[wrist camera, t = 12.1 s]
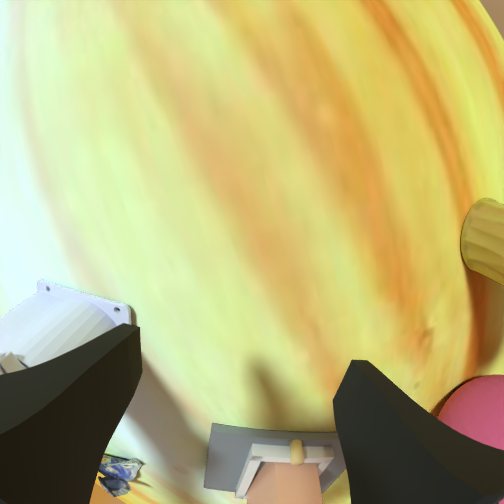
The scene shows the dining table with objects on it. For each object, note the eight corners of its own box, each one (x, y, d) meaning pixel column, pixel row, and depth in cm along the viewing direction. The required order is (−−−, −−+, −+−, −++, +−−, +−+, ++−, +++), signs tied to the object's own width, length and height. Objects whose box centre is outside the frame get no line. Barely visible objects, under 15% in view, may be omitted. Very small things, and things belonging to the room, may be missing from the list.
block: (282, 487, 25) (284, 531, 18) (247, 483, 24) (245, 529, 18) (315, 455, 22) (323, 509, 15) (274, 451, 22) (276, 510, 15)
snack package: (165, 485, 28) (133, 447, 24) (150, 516, 22) (110, 485, 18) (103, 461, 31) (68, 418, 27) (87, 487, 25) (45, 447, 21)
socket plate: (204, 481, 26) (201, 502, 23) (212, 422, 22) (207, 451, 19) (321, 488, 26) (324, 507, 23) (368, 430, 22) (377, 454, 19)
